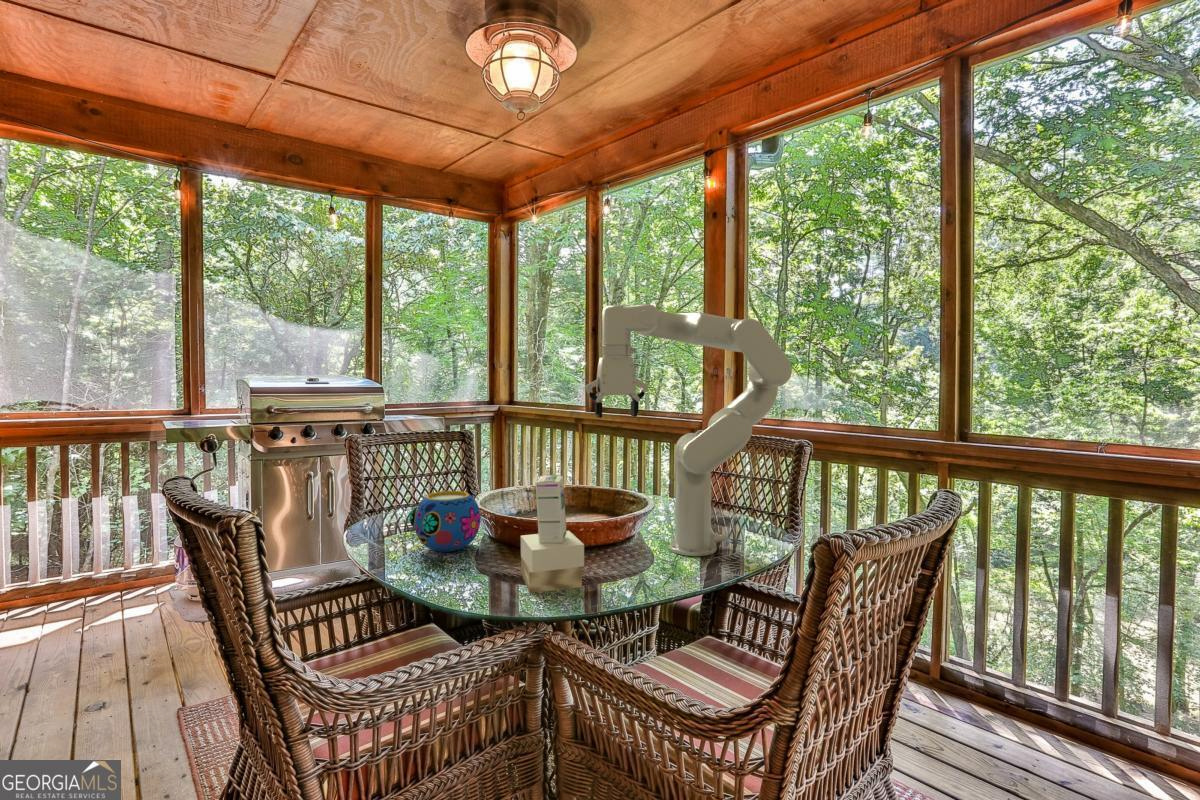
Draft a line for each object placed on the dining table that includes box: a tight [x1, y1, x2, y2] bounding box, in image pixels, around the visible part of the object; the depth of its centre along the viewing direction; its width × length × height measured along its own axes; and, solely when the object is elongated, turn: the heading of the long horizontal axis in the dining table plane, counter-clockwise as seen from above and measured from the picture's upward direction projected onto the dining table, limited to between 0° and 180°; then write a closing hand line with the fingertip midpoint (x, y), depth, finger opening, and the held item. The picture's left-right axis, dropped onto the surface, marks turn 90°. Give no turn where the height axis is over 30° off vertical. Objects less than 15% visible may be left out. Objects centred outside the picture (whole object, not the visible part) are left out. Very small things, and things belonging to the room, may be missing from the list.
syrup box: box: [534, 474, 567, 543], centre depth 137 cm, size 6×6×14 cm
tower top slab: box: [520, 530, 585, 573], centre depth 138 cm, size 12×12×5 cm
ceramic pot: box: [408, 490, 482, 553], centre depth 162 cm, size 18×18×15 cm
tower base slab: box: [520, 556, 583, 594], centre depth 138 cm, size 12×12×5 cm
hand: (616, 416), depth 158 cm, fingers open, 9 cm apart
